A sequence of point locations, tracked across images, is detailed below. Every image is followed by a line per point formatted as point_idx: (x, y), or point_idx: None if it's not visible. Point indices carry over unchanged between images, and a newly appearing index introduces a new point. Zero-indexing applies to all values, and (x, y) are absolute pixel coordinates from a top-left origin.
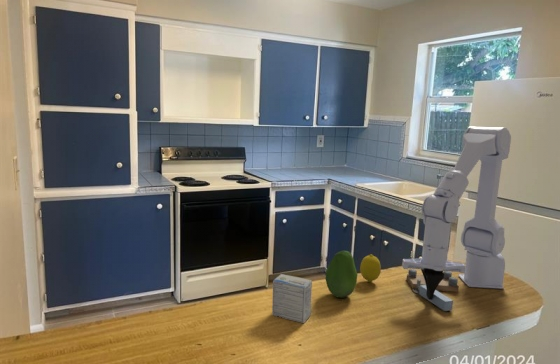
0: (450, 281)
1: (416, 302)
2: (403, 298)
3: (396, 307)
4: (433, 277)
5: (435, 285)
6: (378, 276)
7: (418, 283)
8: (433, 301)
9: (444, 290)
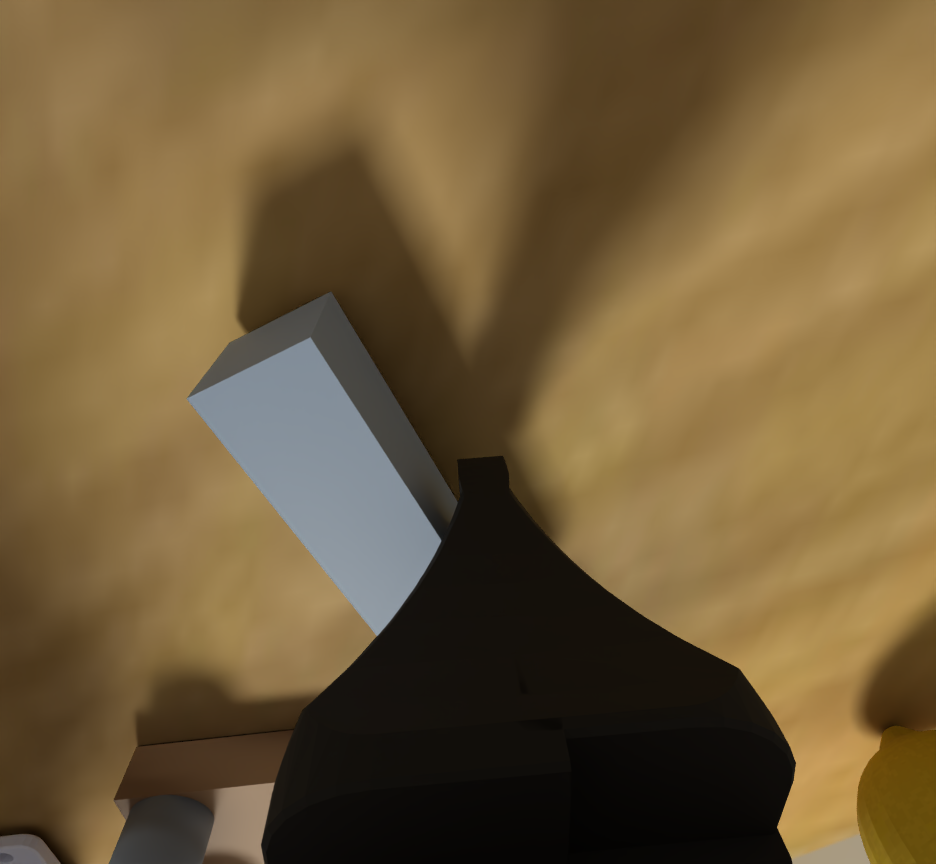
0: (185, 843)
1: (601, 465)
2: (710, 519)
3: (886, 295)
4: (578, 686)
5: (460, 578)
6: (883, 783)
7: None
8: (431, 472)
9: (262, 736)
